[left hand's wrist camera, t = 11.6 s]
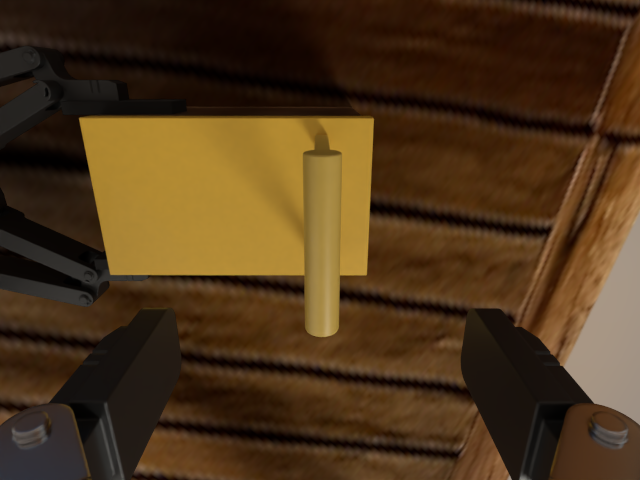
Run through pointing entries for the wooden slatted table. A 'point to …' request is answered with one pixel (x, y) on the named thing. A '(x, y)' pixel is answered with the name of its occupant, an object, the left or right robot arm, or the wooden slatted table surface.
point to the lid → (236, 198)
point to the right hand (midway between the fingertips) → (188, 186)
